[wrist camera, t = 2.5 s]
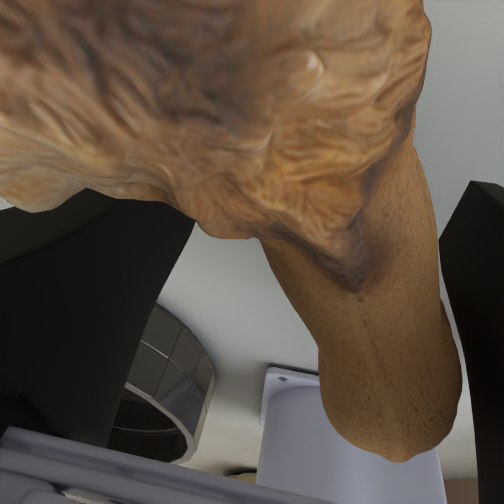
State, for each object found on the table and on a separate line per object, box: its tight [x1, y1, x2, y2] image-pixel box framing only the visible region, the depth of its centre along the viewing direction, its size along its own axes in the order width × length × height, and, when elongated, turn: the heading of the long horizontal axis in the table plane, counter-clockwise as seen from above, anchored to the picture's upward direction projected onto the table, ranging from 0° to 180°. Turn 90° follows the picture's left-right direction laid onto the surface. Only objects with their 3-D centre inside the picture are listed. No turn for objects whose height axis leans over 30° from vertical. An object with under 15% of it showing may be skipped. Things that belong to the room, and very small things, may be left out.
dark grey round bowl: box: [106, 303, 215, 465], centre depth 21 cm, size 16×16×4 cm
